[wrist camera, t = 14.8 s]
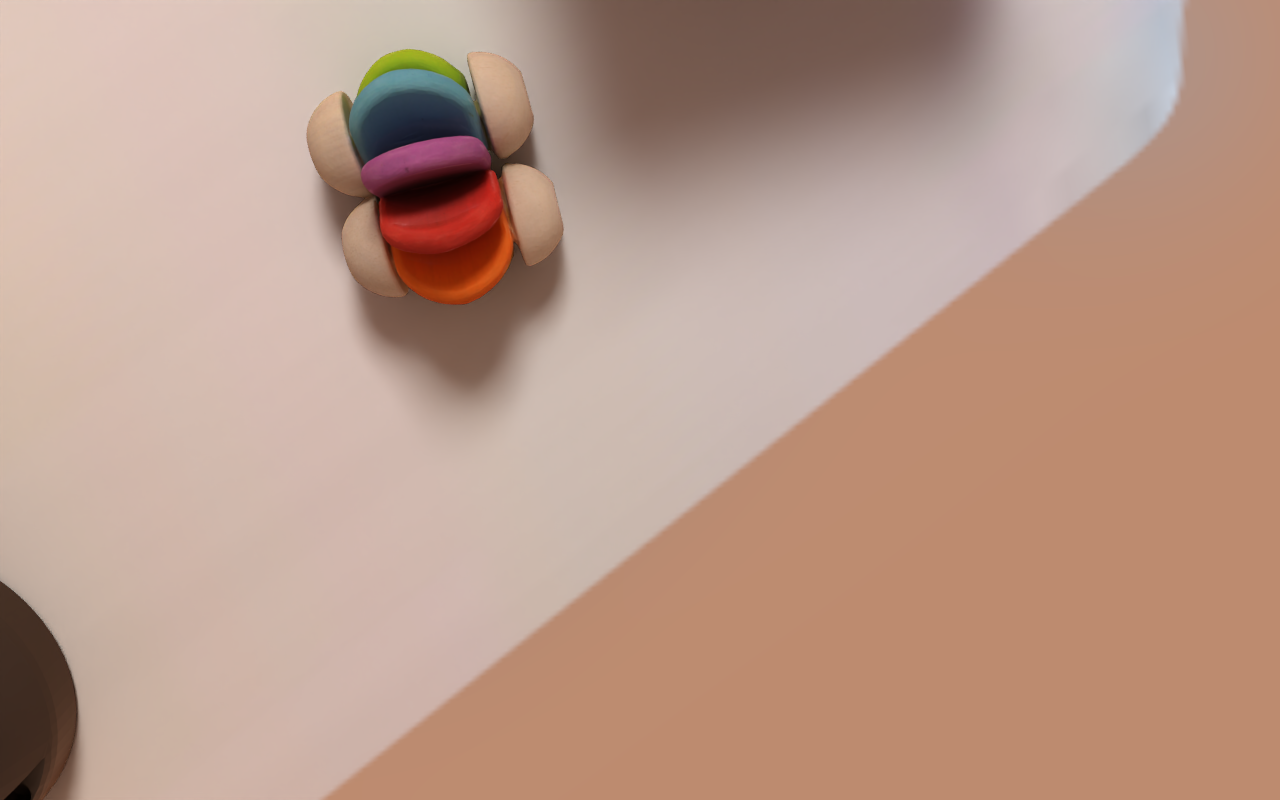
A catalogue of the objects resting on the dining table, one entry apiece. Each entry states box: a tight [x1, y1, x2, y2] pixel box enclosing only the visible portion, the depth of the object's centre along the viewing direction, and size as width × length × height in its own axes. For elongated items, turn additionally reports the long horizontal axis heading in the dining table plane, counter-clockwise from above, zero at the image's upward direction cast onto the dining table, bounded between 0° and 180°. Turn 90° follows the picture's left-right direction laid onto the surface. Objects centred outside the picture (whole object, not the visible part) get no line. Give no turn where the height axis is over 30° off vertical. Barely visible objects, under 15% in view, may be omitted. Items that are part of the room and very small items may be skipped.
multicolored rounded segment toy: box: [307, 49, 564, 304], centre depth 40 cm, size 8×10×7 cm
